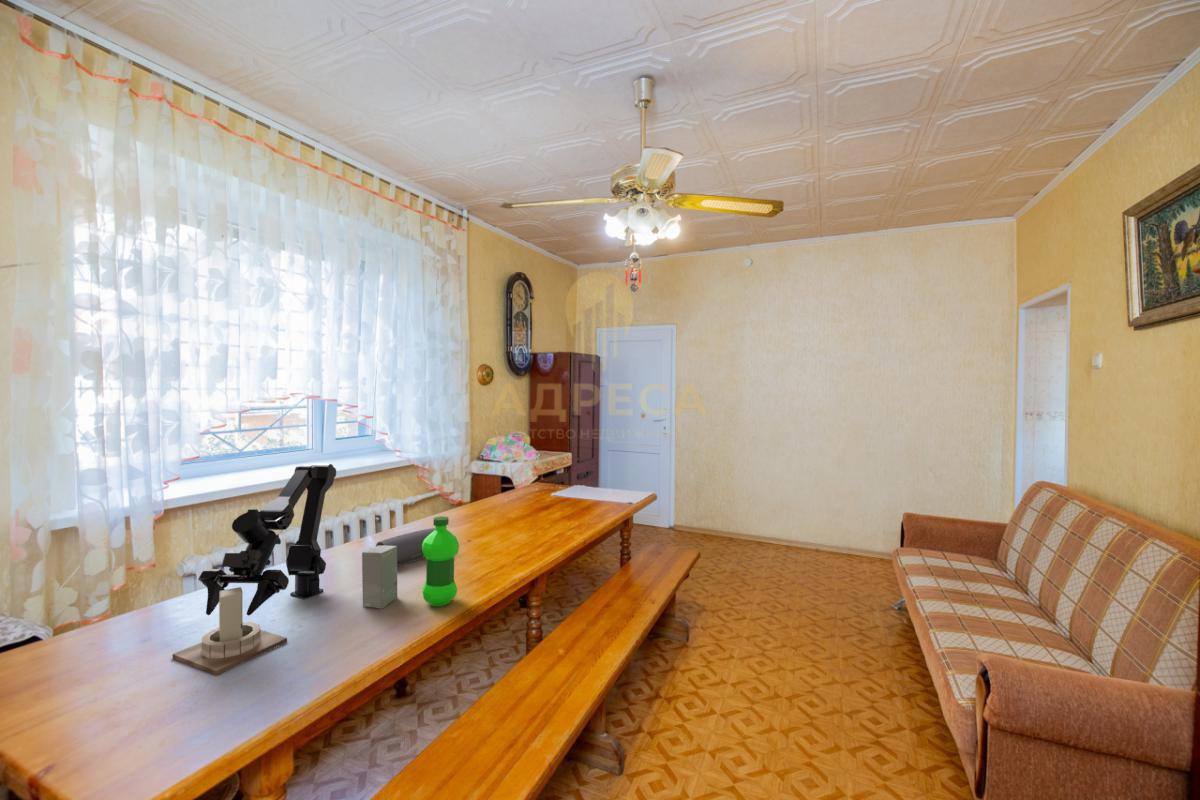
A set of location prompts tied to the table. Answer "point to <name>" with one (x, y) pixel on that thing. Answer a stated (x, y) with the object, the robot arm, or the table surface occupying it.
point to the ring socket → (228, 649)
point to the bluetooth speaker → (408, 545)
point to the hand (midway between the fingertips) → (227, 614)
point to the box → (230, 614)
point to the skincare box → (379, 576)
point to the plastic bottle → (440, 564)
